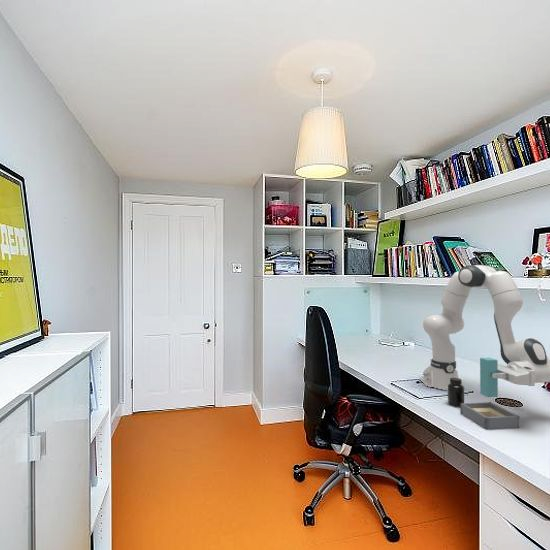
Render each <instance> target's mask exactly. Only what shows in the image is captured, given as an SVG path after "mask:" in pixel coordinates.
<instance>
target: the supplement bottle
mask: <svg viewBox="0 0 550 550" xmlns="http://www.w3.org/2000/svg"><path fill="white" fill-rule="evenodd" d="M462 382H463V381H462V379H461V378H459V377H458V378H450V384H449V385H448V390H447V404H448V406H451V407H454V408H460V403H465V387H464V385H462V384H463V383H462Z"/></svg>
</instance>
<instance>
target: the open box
mask: <svg viewBox="0 0 550 550" xmlns="http://www.w3.org/2000/svg"><path fill="white" fill-rule="evenodd" d="M459 409H460V411H459V413H460V415H462V416H464V417H465V418H467V419H468V420H470V421H472V423H473V422H474V423H475V424H476V425H477V426H480V427H481V428H483V429H485V430H486V431H487V430H488V429H489V430H504V429H507V430H508V428H509V429H520V416H519V415H517V414H515V413H513V412H511V411H510V410H508V409H505V408H503V407H501V406H499V405H497V404H495V403H494V402H491V401H485V402H464V403H460V407H459Z"/></svg>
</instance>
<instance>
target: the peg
mask: <svg viewBox="0 0 550 550" xmlns="http://www.w3.org/2000/svg"><path fill="white" fill-rule="evenodd" d="M479 358H480V359H479V367H480V369H479V372H480V373H479V384H480V386H479V389H480V390H479V391H480V392H479V393H480V395H482V396H484V397H486V398H498V395H499V394H498V392H499V387H498V386H499V385H498V383H499V382H498V381H499V380H498V379H499V378H492V377H491V373H498V364H499V363H498V359H495V358H492V357H479Z"/></svg>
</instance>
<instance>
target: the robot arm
mask: <svg viewBox="0 0 550 550" xmlns="http://www.w3.org/2000/svg"><path fill="white" fill-rule="evenodd" d="M473 288H477V289H482V288H486V289H487V290H488V291H489V295H490V297H491V299H492V303H493V308H494V309H493V310H494V312H493V318H494V319H493V320H494V324H495V329H496V332H497V338H498V340H499V341H498V342H499V345H500V349H499V350H500V351H499V352H500V357H501V359H502V360H503V361H504V363H505V364H507V365H504V364H501V363H498V373H491V377H492V378H498V379H501V380H504V381H507V382H509V383H511V384H515V385H518V386H528V387H535V384H540V383H542V384H543V383H548V382H550V358H549V357H548V356H547V351H546V349H545V347H544V345H543V344H542V342H540V341H539V340H537V339H535V338H531V337H530V338H525V339H521V340H519V341H517V342H516V340H515V336H514V332H513V328H512V322H513V321H512V320H513V319H514V317H515V316H516V315H517V314H518V312H519V311H520V310H521V308H522V307H523V297H522V295H521V294H522V293H520V290H519V288H518V286H517V284H516V282H515V279H513V277H512V276H511V274H510V273H509V272H508V271H504V270H499V269H498V268H496V267H495V266H492V265H486V264H485V265H484V264H476V265H472V264H469V265H465V266H463V267H461V268H460V270H459V271H455V272H454V273H453V274H452V275H451V277H450V279H449V281H448V282H447V285H446V287H445V290H444V291H443V295H442V297H441V300H440V303H441V305H442V312H441V313H440V314H432V315H430V316H428V317H426V318H424V320H423V322H422V323H423V324H422V328H423V330H424V332H426V333H427V334H428V336H429V339H430V341H431V346H432V347H431V348H432V350H431V352H432V353H431V354H432V358H430V359H429V360H430V364H429V366H427V367H426V368H425V369H424V370H423V372H422V375H423V376H421V377H418V380H419V381H420V380H421V381H422V382H423V383H424V384H423V383H422V382H421V381H420V382H421V383H422V384H423V385H424V386H426V387H427V386H428V387H427V388H430V387H434V388H433V389H436V388H438V389H437V390H441V389H442V390H443V391H448V385H449V384H450V378H459V372H458V370H457V361H456V346H455V345H454V344H453V343H452V341H451V337H450V335H453V334H456V333H458V332H460V331H462V330H463V329H464V327H465V322H464V321H465V320H464V319H463V311H464V307H465V305H466V303H467V300H468V297H469V295H470V292H471V290H472V289H473Z"/></svg>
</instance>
